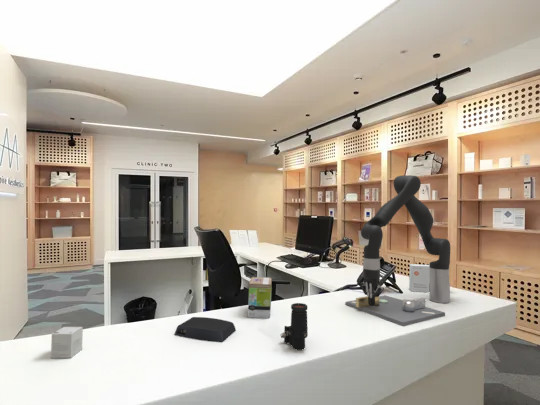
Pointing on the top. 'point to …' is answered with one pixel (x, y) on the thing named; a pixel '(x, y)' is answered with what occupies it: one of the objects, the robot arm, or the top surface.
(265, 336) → the top surface
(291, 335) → the scope
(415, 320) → the board
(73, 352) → the skincare box
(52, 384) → the top surface
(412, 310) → the chrome lever handle
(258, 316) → the tea box
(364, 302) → the brass door handle
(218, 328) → the external hard drive
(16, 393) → the top surface
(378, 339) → the top surface
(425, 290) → the skincare box
